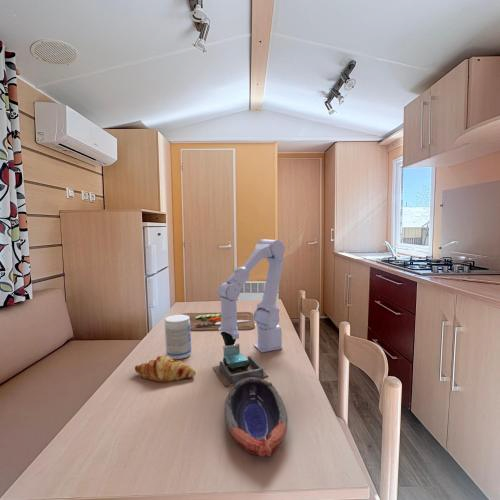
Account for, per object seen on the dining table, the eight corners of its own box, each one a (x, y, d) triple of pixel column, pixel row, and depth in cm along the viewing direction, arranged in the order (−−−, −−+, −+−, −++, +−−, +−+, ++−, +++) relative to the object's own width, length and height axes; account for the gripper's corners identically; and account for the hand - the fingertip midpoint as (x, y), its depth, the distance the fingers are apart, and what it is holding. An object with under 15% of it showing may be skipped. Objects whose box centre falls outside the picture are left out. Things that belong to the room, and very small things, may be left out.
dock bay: (251, 359, 114) (251, 351, 113) (268, 376, 101) (268, 368, 101) (212, 367, 108) (212, 359, 107) (225, 386, 95) (225, 377, 95)
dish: (277, 388, 94) (277, 373, 93) (297, 469, 63) (297, 446, 63) (226, 390, 93) (226, 375, 93) (222, 472, 63) (221, 449, 62)
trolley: (240, 360, 113) (240, 342, 113) (250, 370, 105) (250, 351, 104) (221, 363, 110) (221, 346, 110) (230, 374, 102) (229, 355, 101)
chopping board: (257, 314, 172) (257, 308, 172) (260, 330, 145) (260, 324, 145) (177, 315, 171) (177, 310, 171) (165, 332, 144) (165, 326, 144)
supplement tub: (195, 356, 117) (194, 318, 116) (171, 362, 112) (169, 323, 110) (185, 347, 125) (184, 312, 124) (162, 353, 120) (161, 316, 118)
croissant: (198, 383, 104) (201, 358, 107) (190, 383, 95) (193, 356, 98) (138, 379, 106) (143, 355, 109) (125, 379, 97) (130, 353, 100)
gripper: (212, 311, 117) (213, 345, 118) (224, 322, 104) (225, 361, 105) (230, 309, 120) (230, 342, 121) (244, 320, 106) (244, 357, 108)
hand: (229, 351), depth 113 cm, fingers closed
